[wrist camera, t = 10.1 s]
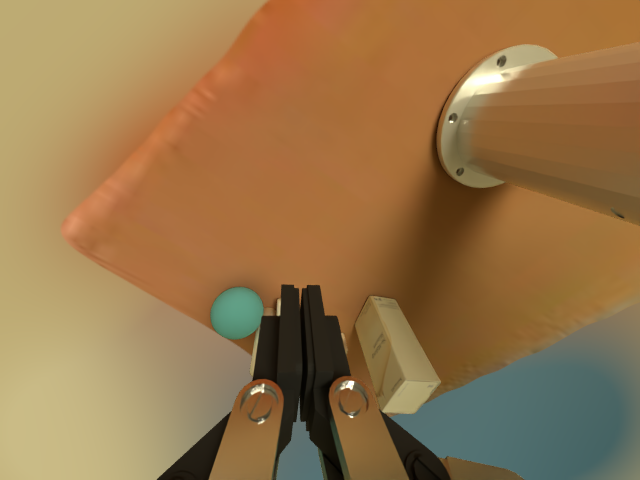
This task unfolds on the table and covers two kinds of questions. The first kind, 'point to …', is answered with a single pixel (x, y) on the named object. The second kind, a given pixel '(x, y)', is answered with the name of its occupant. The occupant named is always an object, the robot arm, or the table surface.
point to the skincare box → (394, 357)
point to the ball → (236, 313)
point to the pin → (267, 312)
